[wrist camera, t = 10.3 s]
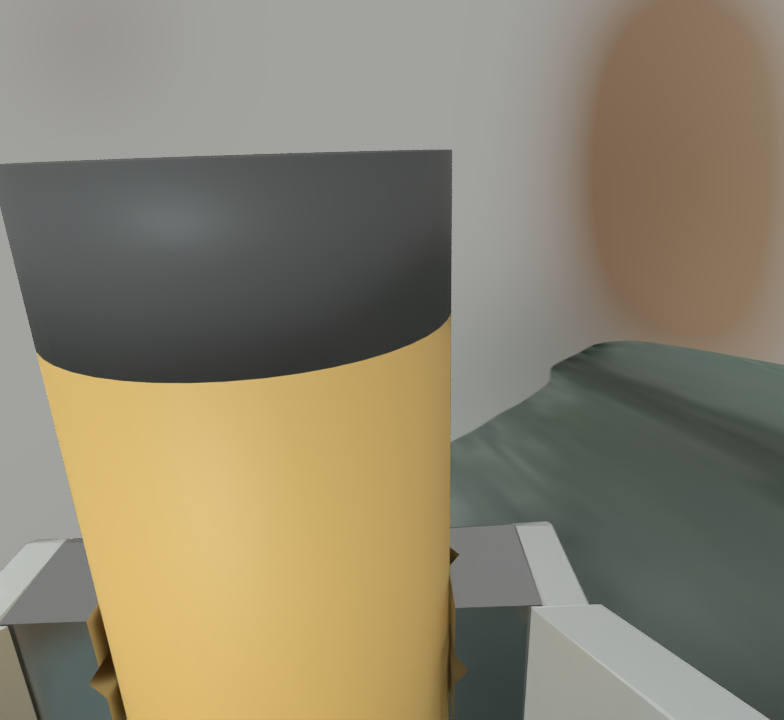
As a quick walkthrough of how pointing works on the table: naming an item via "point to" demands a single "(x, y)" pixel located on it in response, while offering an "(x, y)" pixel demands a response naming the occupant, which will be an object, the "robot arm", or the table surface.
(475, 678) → the robot arm
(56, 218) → the cylinder
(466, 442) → the table surface
